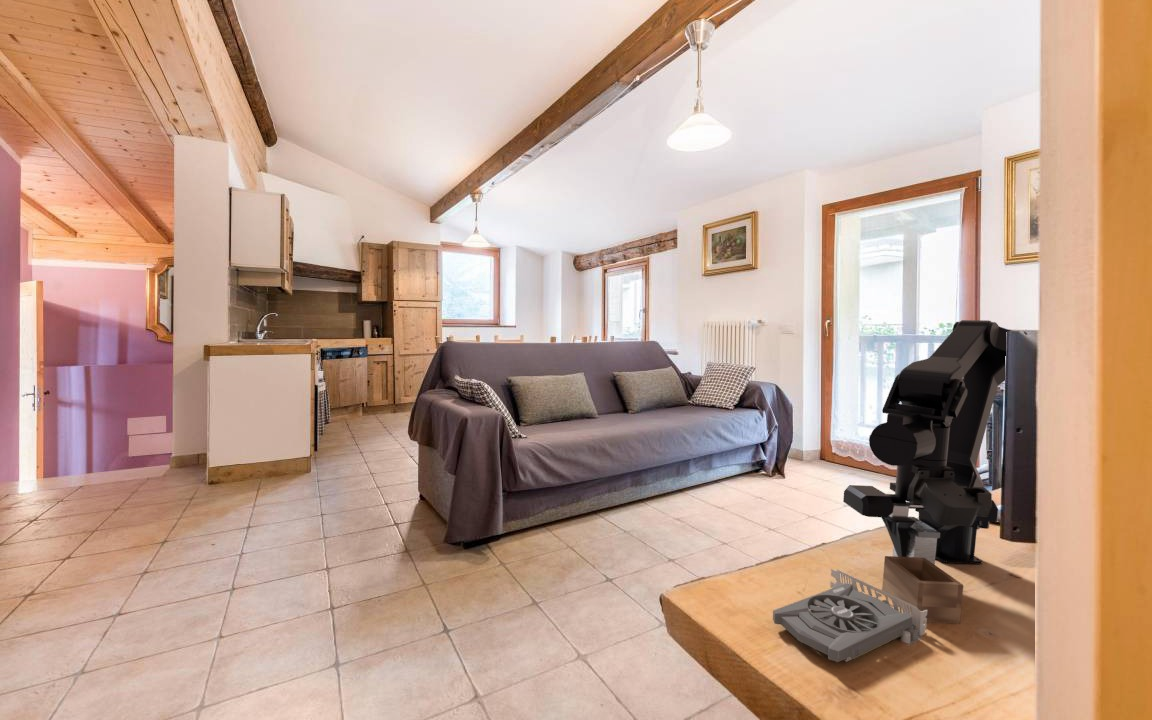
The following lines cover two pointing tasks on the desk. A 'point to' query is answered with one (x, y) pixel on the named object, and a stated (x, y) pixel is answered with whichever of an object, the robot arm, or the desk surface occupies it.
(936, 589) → the open wooden box
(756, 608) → the desk surface
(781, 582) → the desk surface
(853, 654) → the graphics card
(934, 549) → the grey-ended wooden post
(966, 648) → the desk surface
